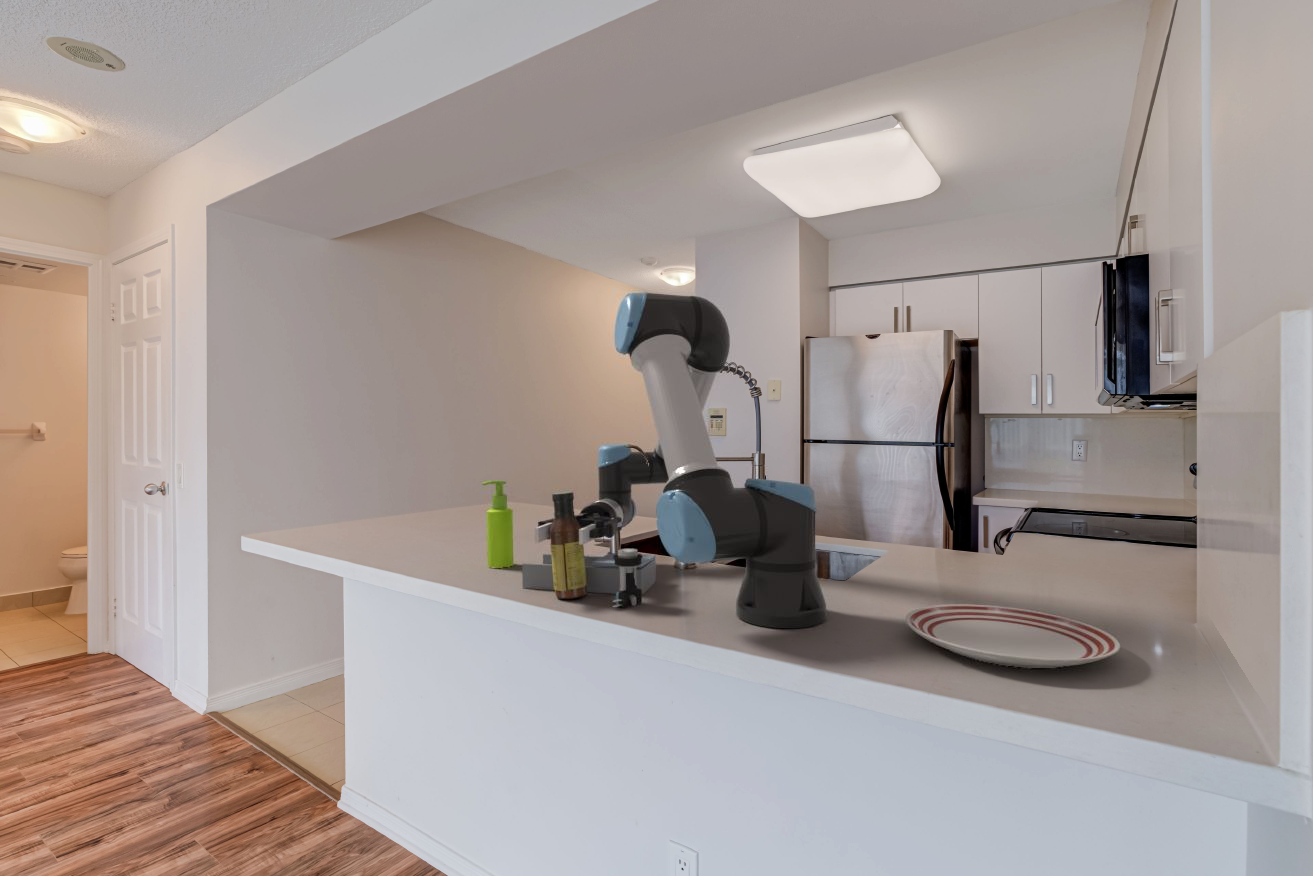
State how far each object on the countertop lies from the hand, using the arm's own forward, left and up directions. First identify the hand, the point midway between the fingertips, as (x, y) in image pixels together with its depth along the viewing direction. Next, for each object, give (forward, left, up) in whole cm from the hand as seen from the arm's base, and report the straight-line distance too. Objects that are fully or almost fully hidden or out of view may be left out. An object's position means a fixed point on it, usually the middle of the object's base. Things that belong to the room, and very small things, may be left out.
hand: (558, 536), depth 121 cm
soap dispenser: (+27, -27, -13) cm, 40 cm away
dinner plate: (-73, +6, -13) cm, 74 cm away
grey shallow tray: (-1, -14, -13) cm, 19 cm away
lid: (-8, -14, -7) cm, 18 cm away
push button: (-12, -2, -13) cm, 18 cm away
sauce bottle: (0, -5, -13) cm, 13 cm away
